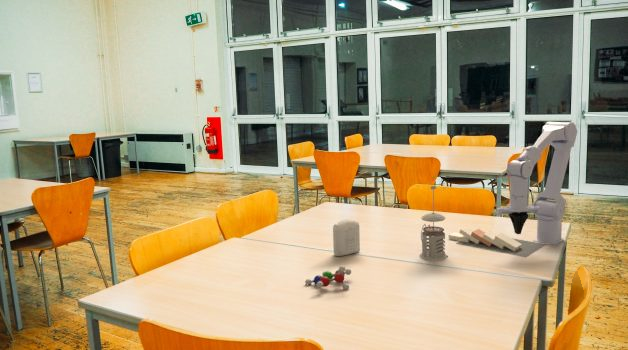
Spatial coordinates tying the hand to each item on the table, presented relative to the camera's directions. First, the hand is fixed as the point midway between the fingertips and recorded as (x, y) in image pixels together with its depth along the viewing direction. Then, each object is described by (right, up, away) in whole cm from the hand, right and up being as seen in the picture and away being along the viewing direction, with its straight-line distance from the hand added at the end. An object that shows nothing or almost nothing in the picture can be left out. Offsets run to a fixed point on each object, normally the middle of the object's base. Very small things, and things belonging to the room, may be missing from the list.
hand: (517, 233), depth 178 cm
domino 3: (-3, -5, +4) cm, 7 cm away
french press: (-30, -8, -1) cm, 31 cm away
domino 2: (-9, -4, +10) cm, 14 cm away
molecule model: (-66, -14, -23) cm, 71 cm away
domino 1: (-12, -4, +13) cm, 18 cm away
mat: (-3, -5, +8) cm, 10 cm away
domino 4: (0, -5, +1) cm, 5 cm away
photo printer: (-59, -8, +7) cm, 60 cm away
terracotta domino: (-6, -4, +7) cm, 10 cm away
